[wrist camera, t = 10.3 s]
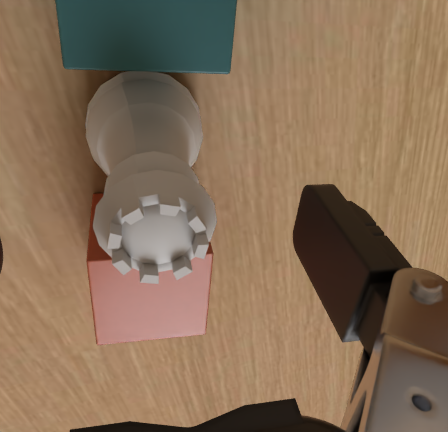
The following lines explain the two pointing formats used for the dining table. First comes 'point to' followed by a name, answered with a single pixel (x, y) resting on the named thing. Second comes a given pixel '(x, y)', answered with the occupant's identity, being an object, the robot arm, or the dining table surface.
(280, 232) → the dining table surface
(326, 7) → the dining table surface
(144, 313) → the terracotta block
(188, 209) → the rook chess piece
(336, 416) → the dining table surface
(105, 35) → the teal block
